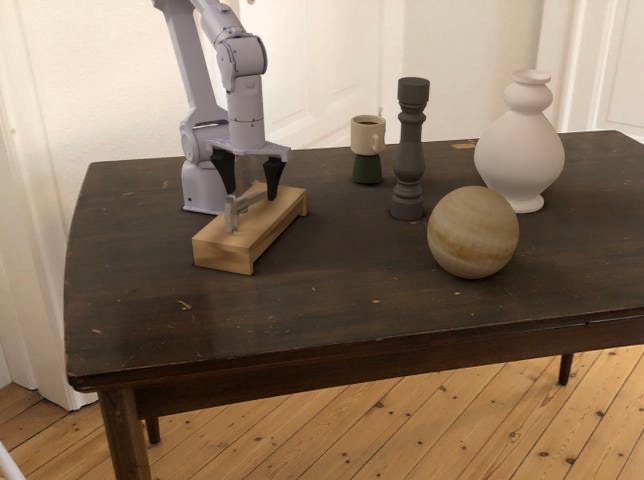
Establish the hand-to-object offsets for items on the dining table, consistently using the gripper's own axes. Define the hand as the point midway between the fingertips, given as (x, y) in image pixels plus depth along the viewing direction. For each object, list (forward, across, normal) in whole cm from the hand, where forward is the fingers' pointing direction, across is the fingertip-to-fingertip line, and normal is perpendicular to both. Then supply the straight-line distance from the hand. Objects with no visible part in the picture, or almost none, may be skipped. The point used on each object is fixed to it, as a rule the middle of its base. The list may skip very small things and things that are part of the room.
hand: (251, 195), depth 128 cm
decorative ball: (+8, +39, 0) cm, 40 cm away
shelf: (+8, 0, 0) cm, 8 cm away
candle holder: (+8, +23, +20) cm, 32 cm away
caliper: (+3, 0, 0) cm, 3 cm away
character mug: (+8, +11, +33) cm, 36 cm away
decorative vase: (+8, +42, +34) cm, 55 cm away
